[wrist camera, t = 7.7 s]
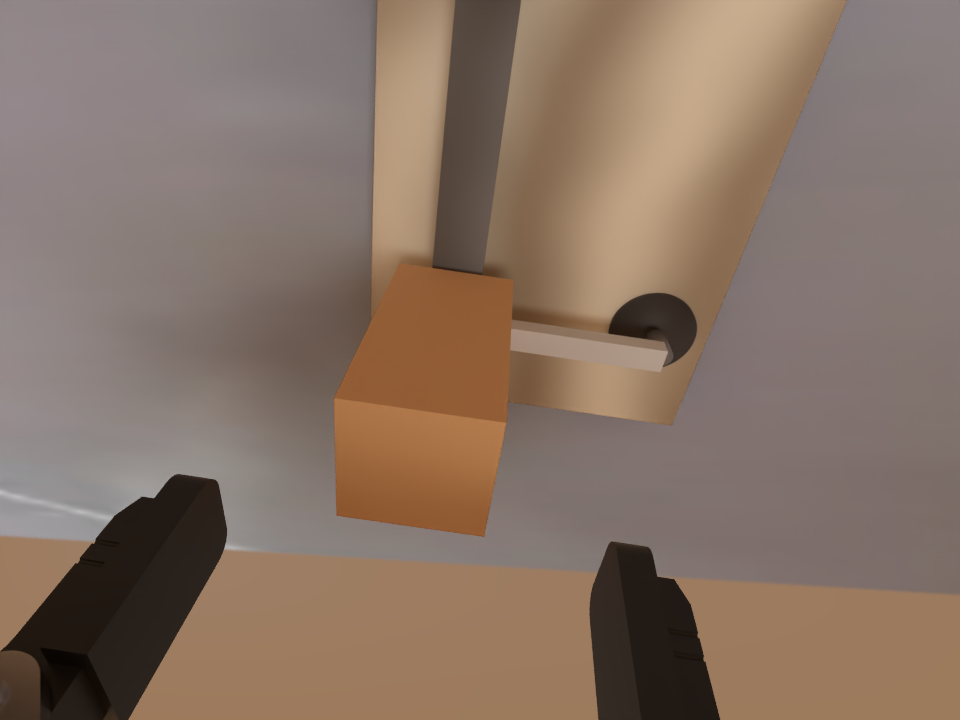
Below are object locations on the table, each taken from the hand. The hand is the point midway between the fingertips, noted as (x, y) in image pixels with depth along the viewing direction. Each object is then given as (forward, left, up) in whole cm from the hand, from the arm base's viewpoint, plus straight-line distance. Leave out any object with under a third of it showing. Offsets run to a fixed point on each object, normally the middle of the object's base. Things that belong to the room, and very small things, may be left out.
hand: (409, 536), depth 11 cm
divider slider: (-3, 0, -9) cm, 10 cm away
